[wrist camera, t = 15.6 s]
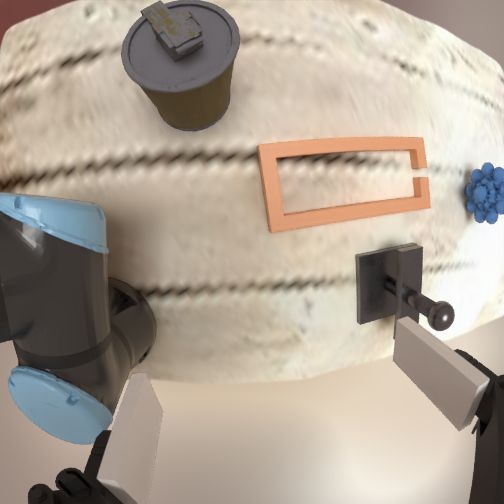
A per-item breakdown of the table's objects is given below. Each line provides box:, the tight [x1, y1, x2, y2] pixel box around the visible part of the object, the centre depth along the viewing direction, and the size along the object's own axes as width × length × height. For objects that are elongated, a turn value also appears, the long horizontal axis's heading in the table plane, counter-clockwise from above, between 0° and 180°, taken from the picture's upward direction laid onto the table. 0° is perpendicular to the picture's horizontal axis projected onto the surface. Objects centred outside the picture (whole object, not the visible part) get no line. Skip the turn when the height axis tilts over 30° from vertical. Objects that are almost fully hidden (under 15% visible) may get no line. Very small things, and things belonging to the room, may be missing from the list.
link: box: [257, 137, 430, 233], centre depth 40 cm, size 28×12×2 cm, turn 99°
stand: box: [356, 243, 455, 339], centre depth 37 cm, size 12×15×17 cm
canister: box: [121, 0, 240, 131], centre depth 26 cm, size 11×10×20 cm
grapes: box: [466, 162, 504, 224], centre depth 38 cm, size 12×7×12 cm, turn 6°
